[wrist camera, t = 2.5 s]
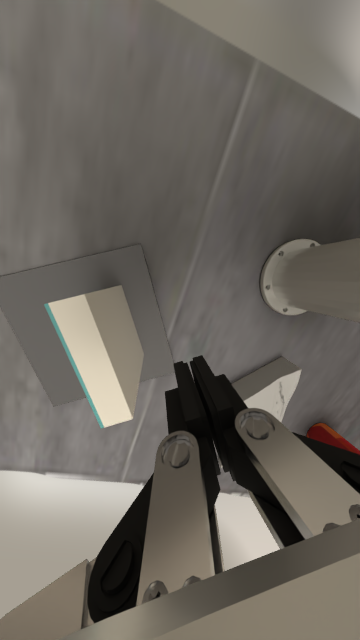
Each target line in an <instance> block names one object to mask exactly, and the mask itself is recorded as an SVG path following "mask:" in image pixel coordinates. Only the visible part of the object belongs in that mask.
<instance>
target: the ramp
mask: <svg viewBox="0 0 360 640" xmlns="http://www.w3.org/2000/svg"><path fill="white" fill-rule="evenodd" d="M300 373H301V369H300V368H299V367H297V366H296V365H294V364H293V363H291V362H290V361H288V360H287V359H285V358H284V357H280V358H278V359H277V360H275V361H273V362H271V363H269V364H267V365H265V366H264V367H262V368H260V369H258V370H256V371H254V372H253V373H251V374H249V375H247V376H245V377H243V378H241V379H239V380H238V381H236V382H234V383H232V386H233V387H234V389H235V390H236V391H237V393H238V394H239V396H240V397H241V398H242V400H243V401H244V403H245V404H246V405H247V407H248V408H259V409H263V410H265V411H267V412H269V413H270V414H272V415H273V416H274V417H275V418H277V419H278V420H279V421H280V422H281V421H282V418H283V416H284V412H285V409H286V406H287V404H288V402H289V400H290V398H291V396H292V395H293V393H294V391H295V388H296V386H297V384H298V381H299V377H300ZM219 465H220V468H222V464H221V461H220V458H219Z"/></svg>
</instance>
